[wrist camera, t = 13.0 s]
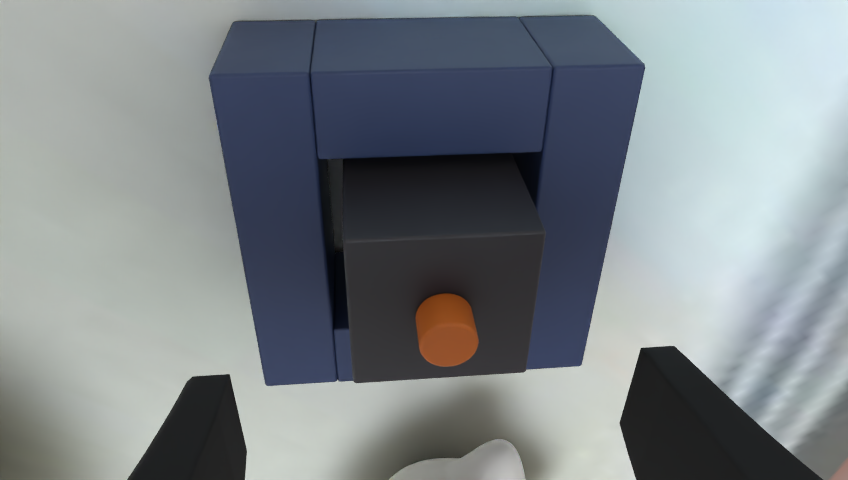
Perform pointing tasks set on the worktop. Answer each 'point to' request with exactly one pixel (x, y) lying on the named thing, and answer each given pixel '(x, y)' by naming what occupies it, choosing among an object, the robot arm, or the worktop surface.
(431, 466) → the cat figurine
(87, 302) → the worktop surface
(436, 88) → the dock
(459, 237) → the grey block with knob
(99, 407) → the worktop surface
